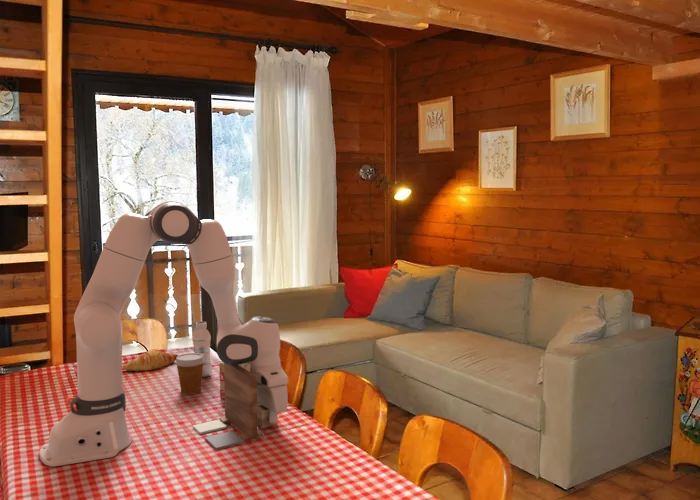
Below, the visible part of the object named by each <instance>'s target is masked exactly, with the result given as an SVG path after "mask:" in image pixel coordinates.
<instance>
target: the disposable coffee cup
mask: <svg viewBox="0 0 700 500" xmlns="http://www.w3.org/2000/svg"><path fill="white" fill-rule="evenodd" d="M203 362H204V358H203V355H202V354H199V353H194V352H189V353H188V352H187V353H183V354H178V356H177V358H176V360H175V361H174V363H175V364H176V368H177V373H178V380H179V381H178V382H179V386H180V393H182V394H184V395H194V394H195V395H196V394H198V393H200V392H201V388H202V378H203V377H202V369H203Z"/></svg>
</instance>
